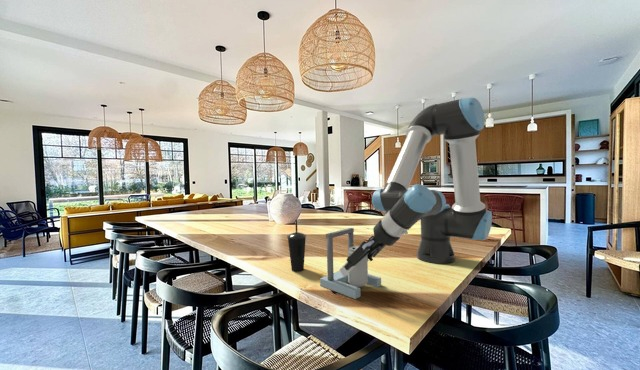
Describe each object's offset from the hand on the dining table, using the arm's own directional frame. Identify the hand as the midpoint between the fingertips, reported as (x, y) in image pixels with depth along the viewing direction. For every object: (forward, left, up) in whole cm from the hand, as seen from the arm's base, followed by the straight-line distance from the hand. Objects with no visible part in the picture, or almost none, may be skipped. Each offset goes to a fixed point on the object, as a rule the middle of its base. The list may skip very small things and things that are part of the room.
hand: (349, 270), depth 92 cm
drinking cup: (+20, -15, -5) cm, 26 cm away
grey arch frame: (-1, +1, -5) cm, 5 cm away
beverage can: (-3, +2, -4) cm, 5 cm away
